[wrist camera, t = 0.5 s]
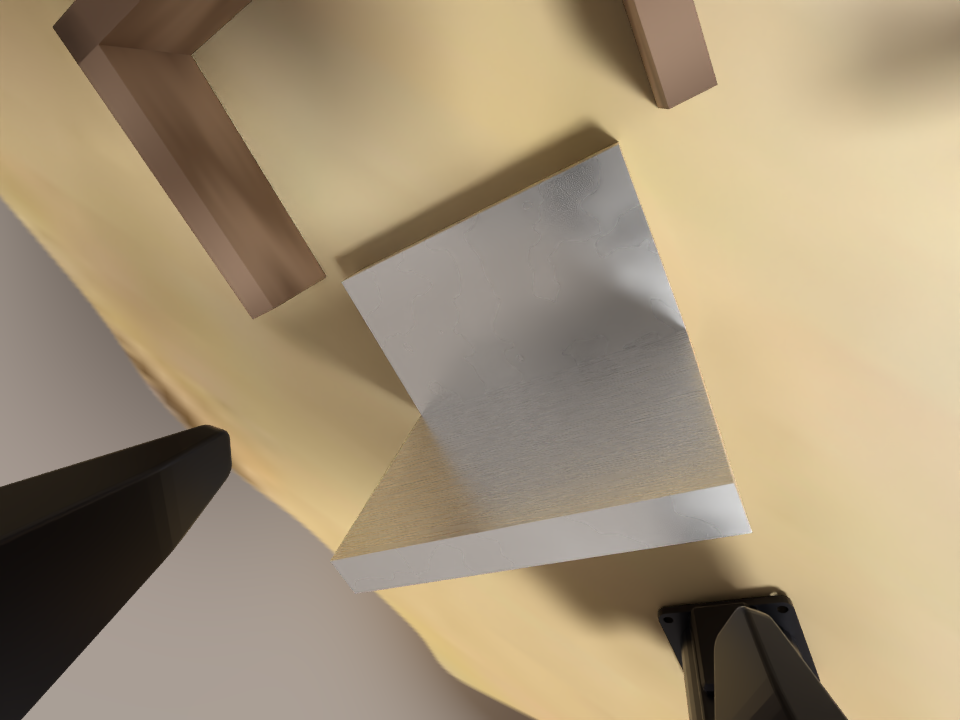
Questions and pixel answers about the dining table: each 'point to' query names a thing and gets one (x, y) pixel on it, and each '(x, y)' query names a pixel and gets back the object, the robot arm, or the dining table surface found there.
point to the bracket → (538, 392)
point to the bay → (223, 154)
